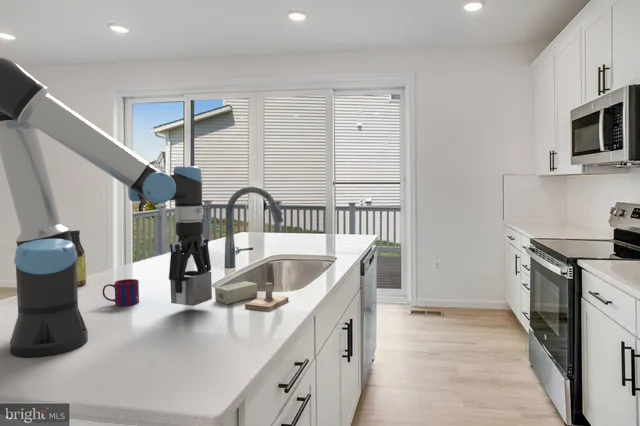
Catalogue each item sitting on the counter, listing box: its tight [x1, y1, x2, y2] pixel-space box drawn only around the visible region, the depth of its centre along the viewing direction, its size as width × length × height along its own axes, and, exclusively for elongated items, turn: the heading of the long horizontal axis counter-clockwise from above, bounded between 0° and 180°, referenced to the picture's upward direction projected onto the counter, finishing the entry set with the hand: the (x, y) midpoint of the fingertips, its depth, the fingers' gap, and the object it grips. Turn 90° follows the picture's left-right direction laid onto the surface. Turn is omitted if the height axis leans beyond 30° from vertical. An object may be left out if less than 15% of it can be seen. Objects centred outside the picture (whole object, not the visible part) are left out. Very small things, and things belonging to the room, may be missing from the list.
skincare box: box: [214, 280, 258, 305], centre depth 144 cm, size 6×4×12 cm
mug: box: [102, 278, 140, 307], centre depth 139 cm, size 7×10×7 cm
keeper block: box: [244, 282, 289, 312], centre depth 137 cm, size 12×8×6 cm, turn 156°
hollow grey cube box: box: [169, 269, 213, 307], centre depth 131 cm, size 8×8×8 cm
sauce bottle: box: [69, 229, 87, 287], centre depth 164 cm, size 6×6×20 cm
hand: (191, 300), depth 131 cm, fingers closed on hollow grey cube box, 8 cm apart
